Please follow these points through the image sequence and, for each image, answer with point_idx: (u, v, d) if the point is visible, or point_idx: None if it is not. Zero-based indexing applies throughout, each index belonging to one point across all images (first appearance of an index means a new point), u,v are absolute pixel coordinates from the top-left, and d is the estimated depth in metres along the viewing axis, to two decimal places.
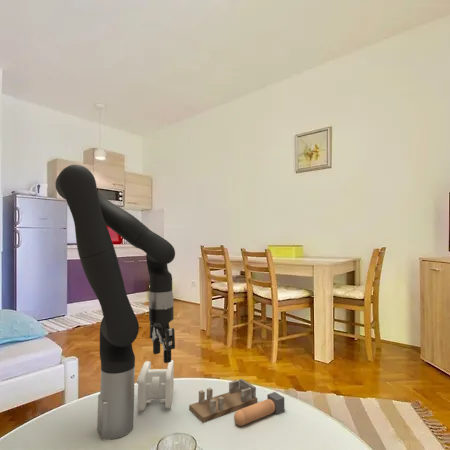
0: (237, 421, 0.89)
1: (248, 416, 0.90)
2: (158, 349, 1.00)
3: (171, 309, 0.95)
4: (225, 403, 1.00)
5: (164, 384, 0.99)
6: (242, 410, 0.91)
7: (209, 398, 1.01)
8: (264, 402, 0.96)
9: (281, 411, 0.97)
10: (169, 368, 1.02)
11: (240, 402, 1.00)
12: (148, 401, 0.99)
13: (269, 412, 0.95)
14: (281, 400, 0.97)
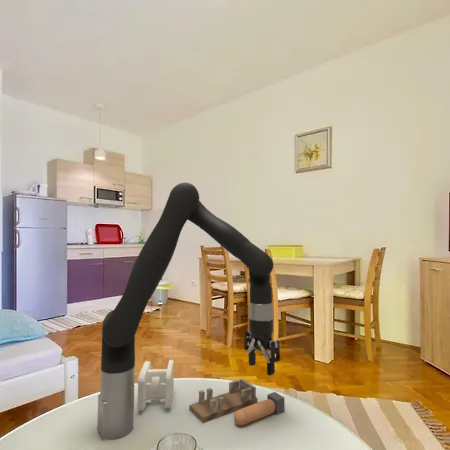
0: (237, 421, 0.89)
1: (248, 416, 0.90)
2: (254, 361, 1.00)
3: (272, 321, 0.95)
4: (225, 403, 1.00)
5: (164, 384, 0.99)
6: (242, 410, 0.91)
7: (209, 398, 1.01)
8: (264, 402, 0.96)
9: (281, 411, 0.97)
10: (169, 368, 1.02)
11: (240, 402, 1.00)
12: (148, 401, 0.99)
13: (269, 412, 0.95)
14: (281, 400, 0.97)
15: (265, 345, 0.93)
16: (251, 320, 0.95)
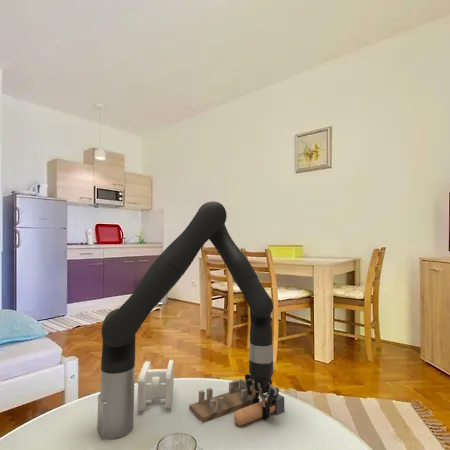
0: (237, 421, 0.89)
1: (248, 415, 0.90)
2: None
3: (272, 362, 0.95)
4: (225, 403, 1.00)
5: (164, 384, 0.99)
6: (242, 410, 0.91)
7: (209, 398, 1.01)
8: None
9: (281, 411, 0.97)
10: (169, 368, 1.02)
11: (240, 402, 1.00)
12: (148, 401, 0.99)
13: None
14: (281, 399, 0.97)
15: (265, 388, 0.92)
16: (251, 362, 0.94)
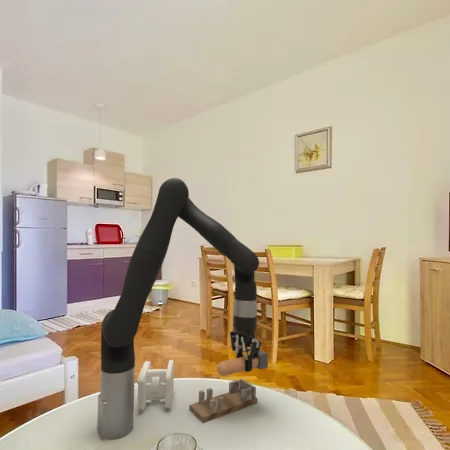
0: (219, 371, 0.92)
1: (230, 366, 0.93)
2: None
3: (256, 318, 0.97)
4: (225, 403, 1.00)
5: (164, 384, 0.99)
6: (225, 361, 0.94)
7: (209, 398, 1.01)
8: None
9: (264, 366, 0.99)
10: (169, 368, 1.02)
11: (240, 402, 1.00)
12: (148, 401, 0.99)
13: (252, 366, 0.97)
14: (265, 355, 1.00)
15: (248, 341, 0.95)
16: (235, 316, 0.97)
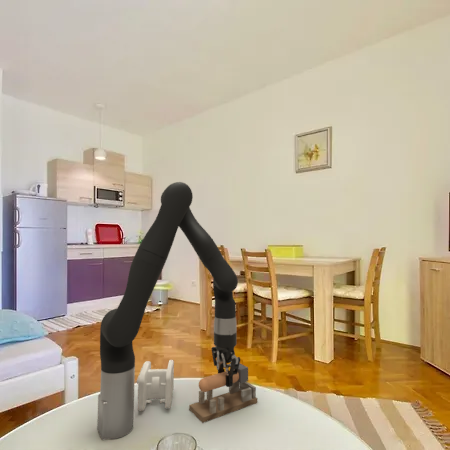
0: (201, 388, 0.95)
1: (211, 383, 0.96)
2: None
3: (235, 334, 1.01)
4: (225, 403, 1.00)
5: (164, 384, 0.99)
6: (206, 378, 0.97)
7: (209, 398, 1.01)
8: None
9: (245, 380, 1.03)
10: (169, 368, 1.02)
11: (240, 402, 1.00)
12: (148, 401, 0.99)
13: (233, 380, 1.01)
14: (245, 369, 1.04)
15: (228, 358, 0.99)
16: (215, 334, 1.00)
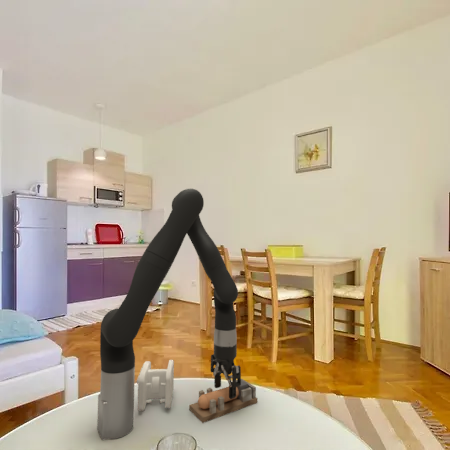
0: (200, 405, 0.95)
1: None
2: (219, 383, 1.05)
3: (235, 346, 1.00)
4: (225, 403, 1.00)
5: (164, 384, 0.99)
6: (205, 395, 0.97)
7: None
8: (228, 388, 1.01)
9: None
10: (169, 368, 1.02)
11: (240, 402, 1.00)
12: (148, 401, 0.99)
13: None
14: (245, 386, 1.03)
15: (228, 370, 0.98)
16: (215, 345, 1.00)
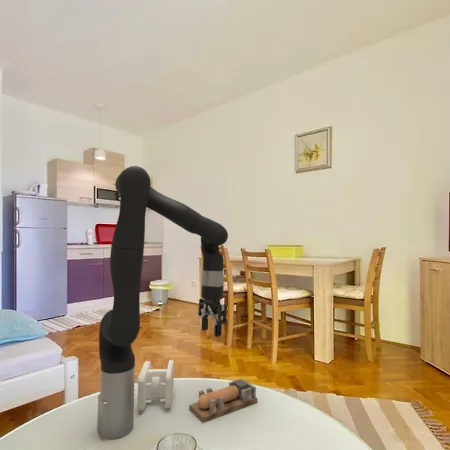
0: (200, 405, 0.95)
1: None
2: (206, 326, 1.07)
3: (222, 287, 1.03)
4: (225, 403, 1.00)
5: (164, 384, 0.99)
6: (205, 395, 0.97)
7: None
8: (228, 388, 1.01)
9: None
10: (169, 368, 1.02)
11: (240, 402, 1.00)
12: (148, 401, 0.99)
13: (232, 397, 1.00)
14: (245, 386, 1.03)
15: (214, 309, 1.01)
16: (202, 286, 1.02)
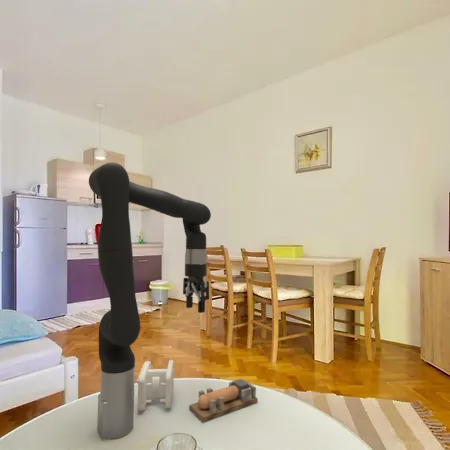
0: (200, 405, 0.95)
1: None
2: (191, 303, 1.09)
3: (205, 265, 1.05)
4: (225, 403, 1.00)
5: (164, 384, 0.99)
6: (205, 395, 0.97)
7: None
8: (228, 388, 1.01)
9: None
10: (169, 368, 1.02)
11: (240, 402, 1.00)
12: (148, 401, 0.99)
13: (232, 397, 1.00)
14: (245, 386, 1.03)
15: (197, 286, 1.03)
16: (186, 264, 1.05)
